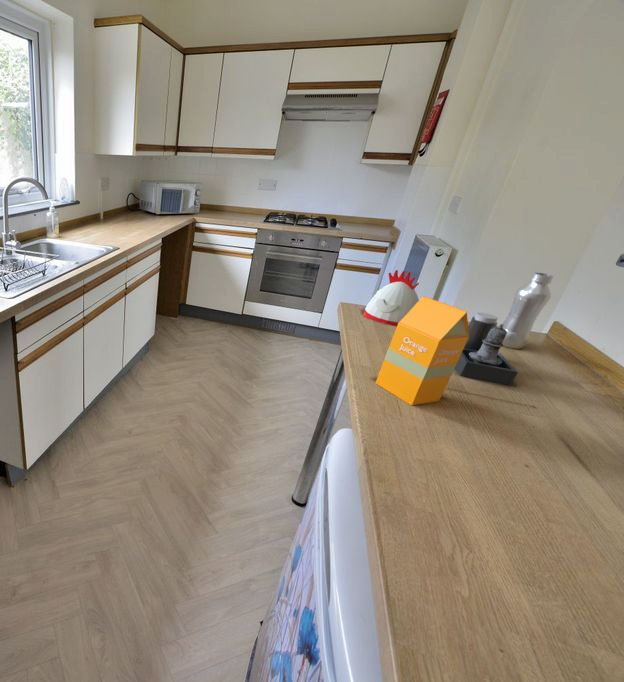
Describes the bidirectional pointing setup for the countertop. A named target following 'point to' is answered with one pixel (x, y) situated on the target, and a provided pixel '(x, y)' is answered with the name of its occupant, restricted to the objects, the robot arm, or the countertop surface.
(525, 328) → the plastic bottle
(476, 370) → the dark grey tray
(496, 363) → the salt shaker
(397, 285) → the kitchen timer
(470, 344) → the pepper shaker
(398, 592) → the countertop surface
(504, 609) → the countertop surface
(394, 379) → the orange juice
